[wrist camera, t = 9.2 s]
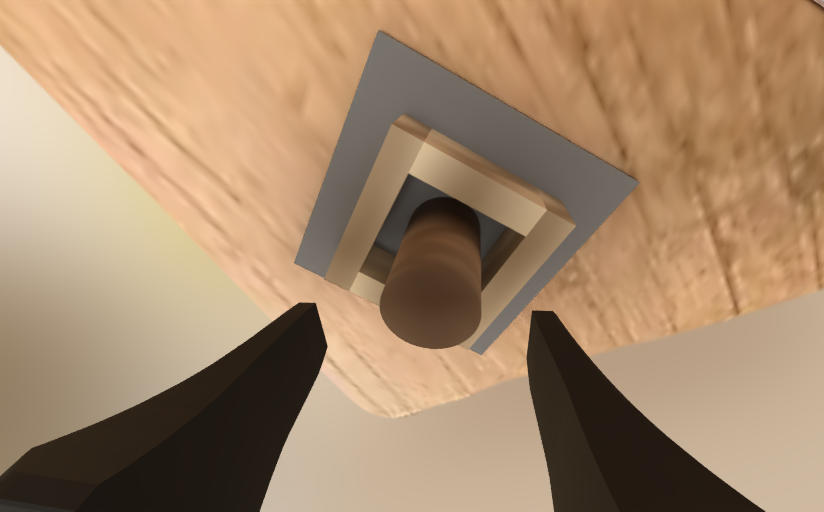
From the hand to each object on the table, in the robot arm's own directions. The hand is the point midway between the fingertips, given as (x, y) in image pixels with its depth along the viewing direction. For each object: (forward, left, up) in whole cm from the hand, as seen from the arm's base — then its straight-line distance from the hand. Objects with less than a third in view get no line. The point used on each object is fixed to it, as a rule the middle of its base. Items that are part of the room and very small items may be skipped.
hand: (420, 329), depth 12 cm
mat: (0, +1, -9) cm, 9 cm away
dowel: (0, +1, -9) cm, 9 cm away
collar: (0, +1, -9) cm, 9 cm away
